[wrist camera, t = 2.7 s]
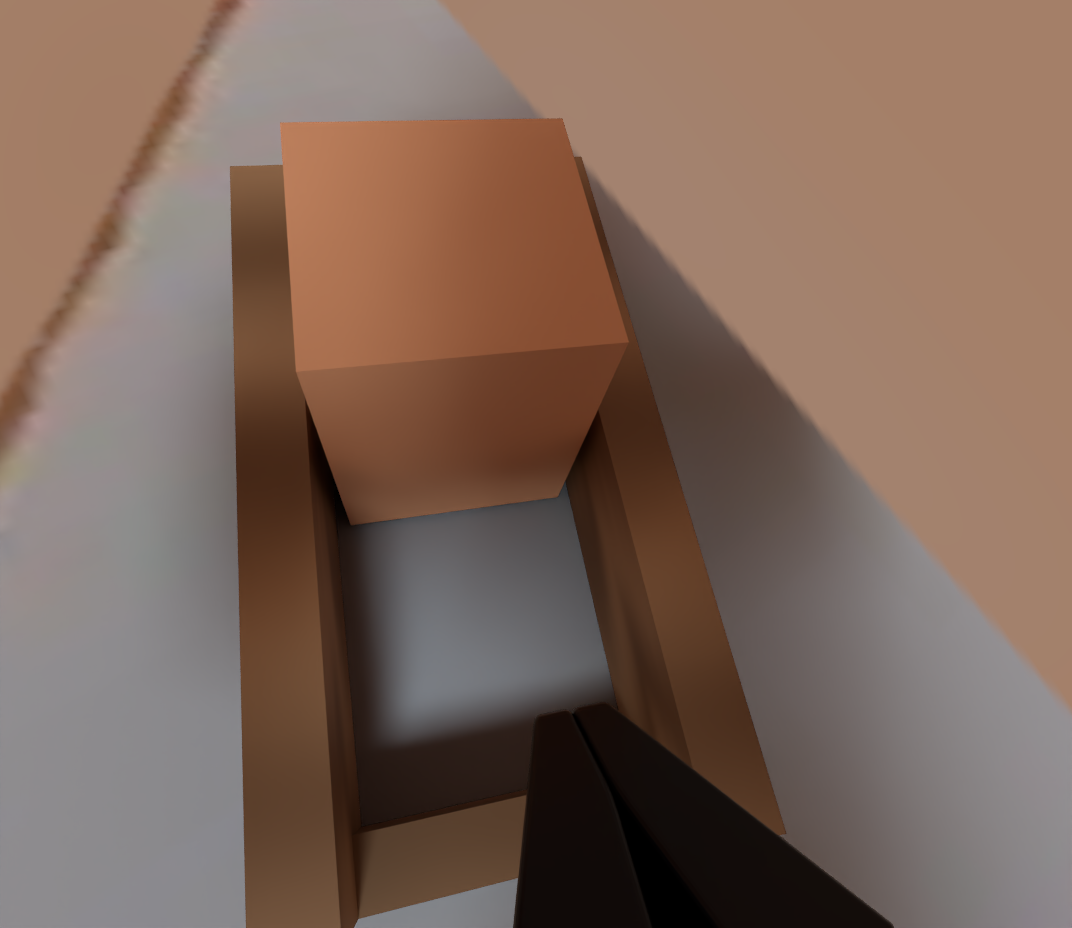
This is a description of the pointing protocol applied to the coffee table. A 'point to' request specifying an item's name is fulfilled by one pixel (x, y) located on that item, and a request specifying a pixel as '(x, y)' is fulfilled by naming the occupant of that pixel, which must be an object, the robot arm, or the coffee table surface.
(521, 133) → the terracotta block
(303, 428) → the walnut chute
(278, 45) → the coffee table surface
